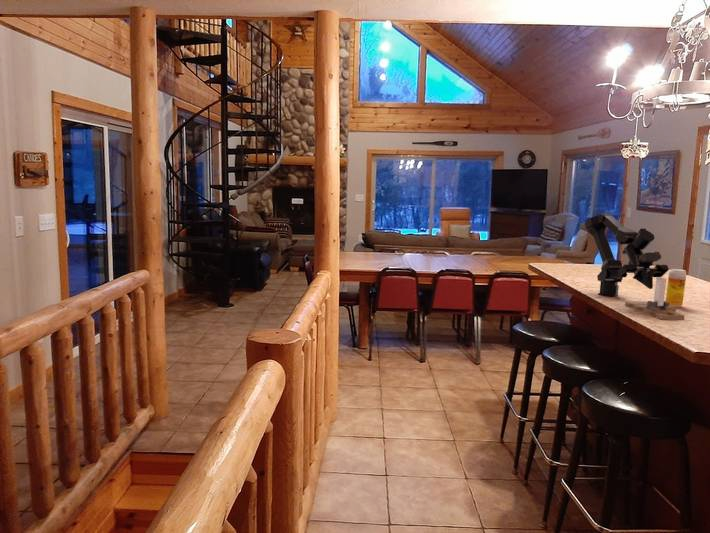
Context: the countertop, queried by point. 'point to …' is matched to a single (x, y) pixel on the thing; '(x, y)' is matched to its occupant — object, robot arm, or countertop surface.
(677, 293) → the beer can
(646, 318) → the countertop surface
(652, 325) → the countertop surface
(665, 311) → the base
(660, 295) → the lever
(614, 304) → the countertop surface
